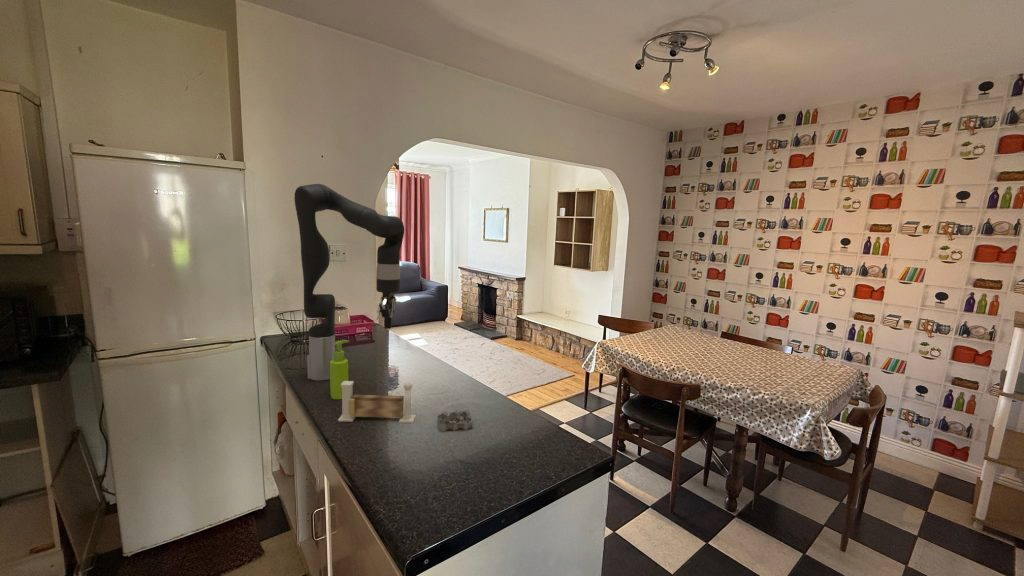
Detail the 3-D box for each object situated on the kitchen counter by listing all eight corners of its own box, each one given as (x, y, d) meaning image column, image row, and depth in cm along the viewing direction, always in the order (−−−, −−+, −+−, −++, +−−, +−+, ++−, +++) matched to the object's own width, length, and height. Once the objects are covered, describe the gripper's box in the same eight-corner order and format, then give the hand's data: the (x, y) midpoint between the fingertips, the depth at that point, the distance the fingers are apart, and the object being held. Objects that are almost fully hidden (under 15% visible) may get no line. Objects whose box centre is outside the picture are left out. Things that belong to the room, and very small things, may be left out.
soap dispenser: (354, 393, 146) (353, 340, 143) (338, 400, 140) (338, 345, 137) (342, 390, 148) (341, 337, 145) (326, 396, 142) (325, 342, 139)
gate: (352, 416, 127) (352, 397, 126) (354, 413, 129) (354, 394, 128) (402, 417, 128) (402, 398, 127) (403, 415, 130) (403, 395, 129)
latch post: (337, 421, 125) (337, 385, 124) (343, 414, 130) (342, 380, 128) (353, 421, 126) (353, 385, 124) (358, 415, 130) (358, 380, 128)
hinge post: (399, 422, 127) (399, 384, 125) (402, 416, 131) (402, 379, 129) (413, 423, 127) (413, 385, 125) (415, 416, 131) (416, 379, 129)
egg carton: (437, 432, 123) (437, 420, 122) (436, 420, 130) (437, 408, 129) (472, 430, 125) (472, 418, 124) (469, 419, 132) (470, 407, 131)
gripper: (395, 280, 126) (394, 333, 129) (404, 275, 139) (403, 323, 142) (371, 279, 126) (371, 333, 128) (382, 274, 139) (381, 323, 141)
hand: (388, 328), depth 135 cm, fingers closed
